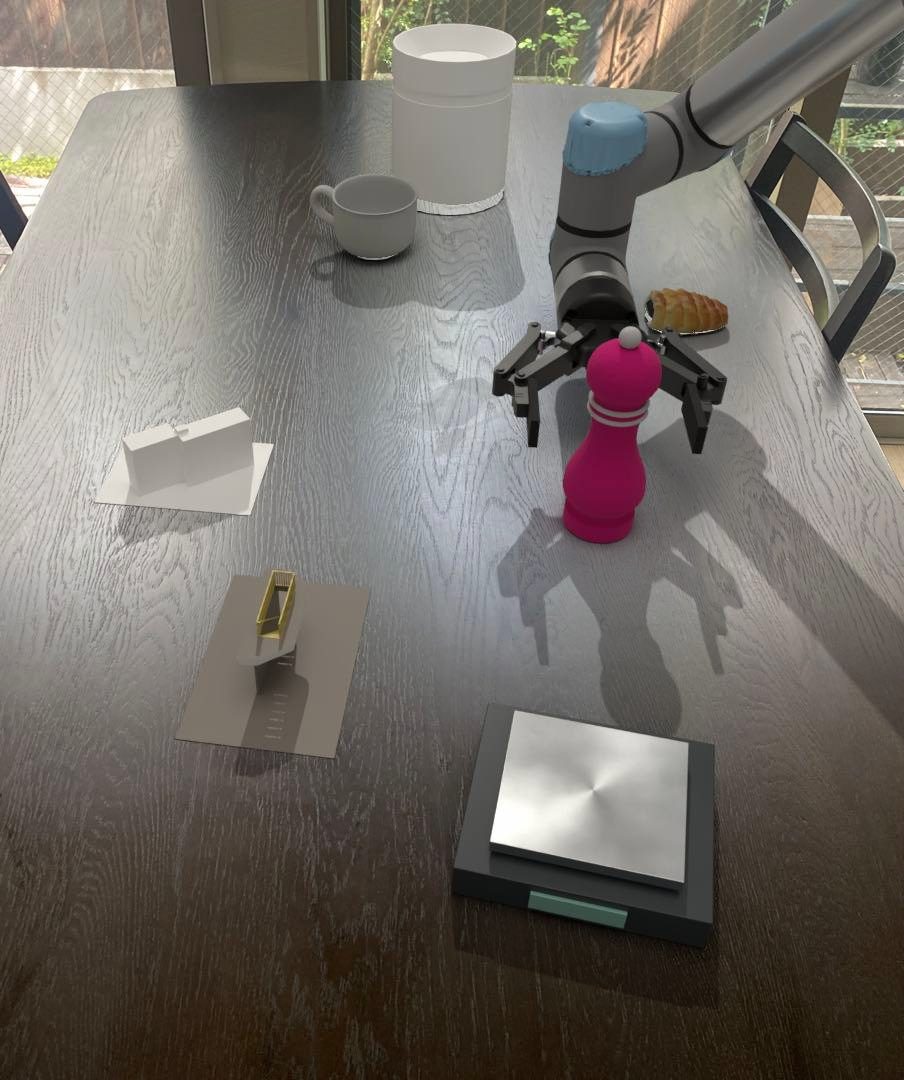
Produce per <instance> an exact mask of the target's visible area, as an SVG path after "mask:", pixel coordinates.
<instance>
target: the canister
mask: <svg viewBox="0 0 904 1080" xmlns="http://www.w3.org/2000/svg"><path fill="white" fill-rule="evenodd" d="M517 42H518V41H517V40H516V39H515V38H514V37H513V35H511V34H509V33H508V32H505V31H503V30H500V29H497V28H493V27H490V26H485V25H478V24H471V23H470V24H469V23H437V24H436V23H435V24H427V25H422V26H415V27H413V28H410V29H407V30H403V31H402V32H400V33H398V34H397V35H396V36H394V38H393V41H392V60H391V61H392V64H391V65H392V66H391V67H392V69H391V71H392V72H391V73H392V74H391V76H392V85H391V161H390V162H391V163H390V164H391V167H390V168H391V170H390V171H391V173H390V175H393V176H397V177H400V178H403V179H405V180H407V181H409V182H410V183H412V184H413V185H414V186H415V187H416V189H417V191H418V199H419V200H424V201H428V202H432V203H438V204H446V205H459V204H470V203H474V202H478V201H482V200H486V199H487V198H490V197H492V196H494V195H496V194H498V193H499V192H500V191H501V189H503V187H504V185H505V186H506V177H507V176H506V175H507V166H508V165H507V163H508V152H509V151H508V150H509V140H510V127H511V115H512V114H511V113H512V101H513V89H514V85H513V83H514V77H515V76H514V75H515V65H516V54H517V53H516V52H517Z"/></svg>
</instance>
